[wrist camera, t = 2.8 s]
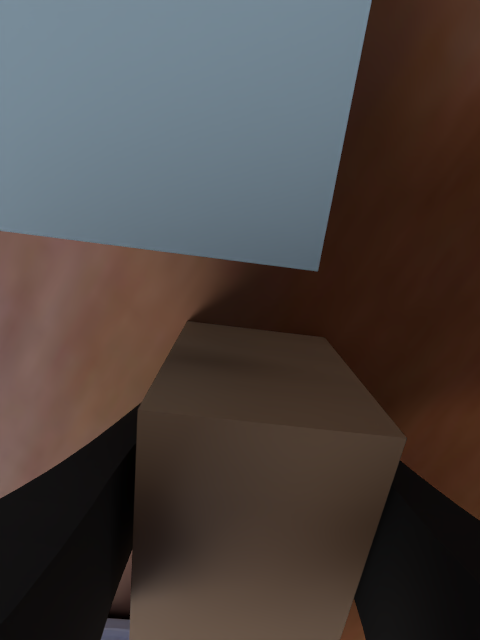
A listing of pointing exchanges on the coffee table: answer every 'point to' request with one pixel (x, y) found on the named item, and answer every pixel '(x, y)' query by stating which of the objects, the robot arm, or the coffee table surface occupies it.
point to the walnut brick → (255, 488)
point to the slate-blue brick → (177, 122)
